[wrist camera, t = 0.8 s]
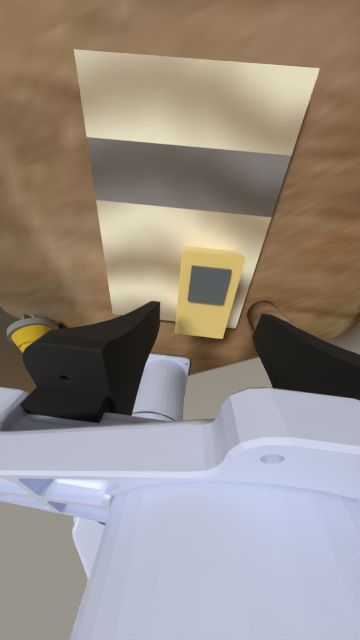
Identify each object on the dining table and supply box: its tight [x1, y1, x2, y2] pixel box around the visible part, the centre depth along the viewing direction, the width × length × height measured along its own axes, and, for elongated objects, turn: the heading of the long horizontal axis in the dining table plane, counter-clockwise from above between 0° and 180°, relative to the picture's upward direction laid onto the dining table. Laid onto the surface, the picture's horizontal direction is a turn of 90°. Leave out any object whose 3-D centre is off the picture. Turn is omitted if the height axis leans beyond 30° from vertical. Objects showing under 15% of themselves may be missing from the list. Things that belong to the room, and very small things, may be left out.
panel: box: [74, 50, 320, 328], centre depth 16 cm, size 20×16×1 cm
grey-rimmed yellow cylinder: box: [7, 314, 59, 352], centre depth 21 cm, size 5×5×10 cm
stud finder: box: [175, 246, 246, 339], centre depth 16 cm, size 8×5×4 cm, turn 175°
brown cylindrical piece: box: [247, 301, 300, 330], centre depth 18 cm, size 4×4×6 cm
